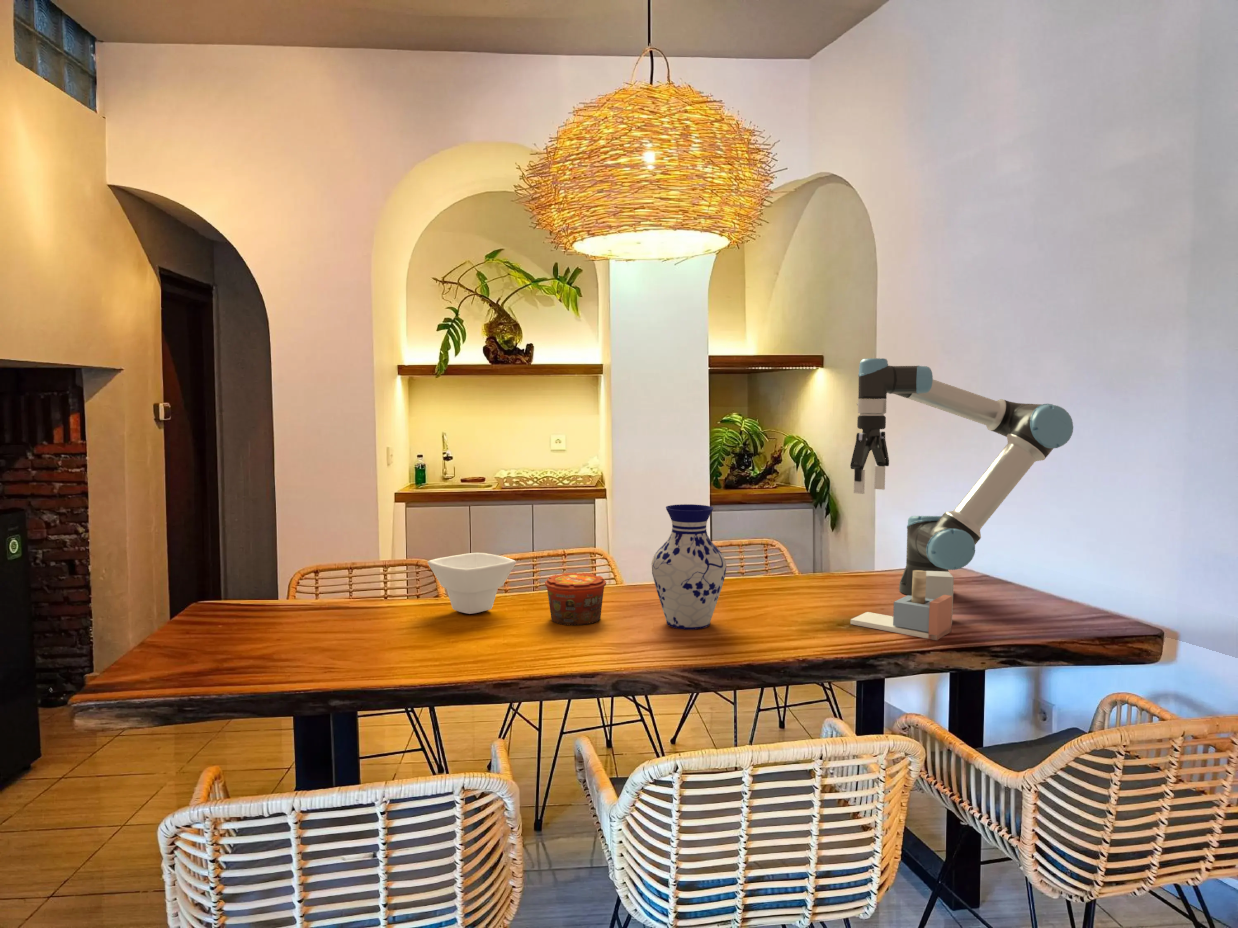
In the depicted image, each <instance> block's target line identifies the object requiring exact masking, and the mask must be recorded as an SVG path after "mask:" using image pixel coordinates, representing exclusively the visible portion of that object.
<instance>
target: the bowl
mask: <svg viewBox="0 0 1238 928" xmlns="http://www.w3.org/2000/svg"><path fill="white" fill-rule="evenodd" d="M516 564H517V561H516V560H514V559H512V558H509V557H505V556H503V555H498V554H491V553H486V552H471V553H470V552H469V553H462V554H456V555H450V556H449V555H448V556H444V557H438V558H434V559H430V560H427V565H428V566H429V568H430V570H431V572H432V573H433V574H434V576H435V578H436V579H437V581H438V583H439V585H440V586H441V587H442V588H444V589H446V592H447V594H448V599H449V602H450V605H451V608H452V609H453V610H454V611H456V612H459V613H463V614H467V615H468V614H469V615H470V614H477V613H481V612H485V611H489V610H492V608H493V606H494V603H495V599H496V595H497V594H498V593H497V592H498V589H499V588H500V587H503V586H504V584H505V582H506V581H507V579H508V578H509V575H510V574H511V572H512V570H513V569H514V568H515V565H516Z"/></svg>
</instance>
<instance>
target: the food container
mask: <svg viewBox="0 0 1238 928" xmlns="http://www.w3.org/2000/svg"><path fill="white" fill-rule="evenodd" d="M544 585H545V588H546V589H547V597H548V598H547V599H548V603H549V604H548V605H549V611H550V618H551V622H554V623H555V624H559V625H565V626H583V625H590V624H594V623H596V622H598V621H600V620H601V619H602V618H601V617H602V608H603V599H604V592H605V591H604V590H605V587H606V585H607V581H606V579H604V577H603V576H601V575H596V574H595V573H587V572H582V573H577V572H566V573H562V574H554V575H551V576H549V577H548V578H547V580H545V581H544Z"/></svg>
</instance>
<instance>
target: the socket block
mask: <svg viewBox="0 0 1238 928" xmlns="http://www.w3.org/2000/svg"><path fill="white" fill-rule="evenodd" d="M933 600H934V599H928V598H925V604H918V603H912V596H910V595H907V594H906V595H905V596H903V597H901V598H899V599H897V600H895V601H893V626H898V627H904V628H909V629H915V630H920V631H925V632H929V606H930V602H931V601H933Z"/></svg>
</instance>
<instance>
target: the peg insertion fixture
mask: <svg viewBox="0 0 1238 928" xmlns="http://www.w3.org/2000/svg"><path fill="white" fill-rule="evenodd" d="M951 621H952V622H953V613H952V596H950V595H943V596H941V597H939V598H937V599H935V600H933V601H931V602H930V606H929V632H925V631H920V630H915V629H909V628H904V627H898V626H893V616H892V615H887V614H883V613H882V614H881V613H877V612H876V613H875V612H871V611H866V612H864V613H861V614H859V615H857V616H855V617H852V618H850V625H854V626H859V627H864V628H870V629H875V630H880V631H885V632H891V633H896V634H902V635H907V636H912V637H918V638H923V639H928V640H933V641H938V640H939V639H941V638H943V637H944V636H946V635H948V634H949V633H952V625H951Z"/></svg>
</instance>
